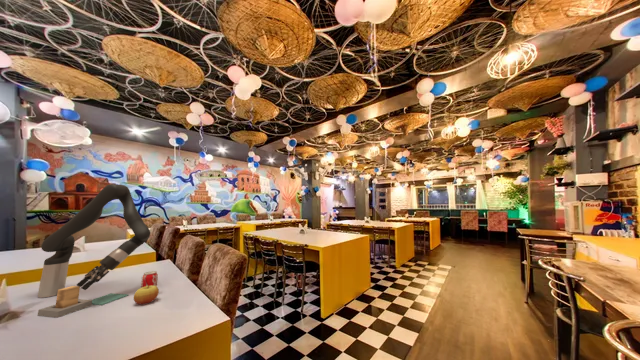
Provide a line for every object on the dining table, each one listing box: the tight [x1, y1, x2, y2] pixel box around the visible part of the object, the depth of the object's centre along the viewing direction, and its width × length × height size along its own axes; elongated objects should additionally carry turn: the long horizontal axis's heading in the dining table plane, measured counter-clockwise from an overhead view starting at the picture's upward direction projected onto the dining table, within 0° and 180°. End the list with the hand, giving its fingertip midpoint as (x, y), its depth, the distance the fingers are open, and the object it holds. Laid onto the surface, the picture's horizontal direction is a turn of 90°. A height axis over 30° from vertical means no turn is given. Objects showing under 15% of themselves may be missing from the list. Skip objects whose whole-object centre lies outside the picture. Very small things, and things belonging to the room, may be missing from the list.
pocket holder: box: [37, 298, 93, 318], centre depth 99 cm, size 12×12×2 cm
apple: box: [133, 285, 160, 305], centre depth 106 cm, size 10×10×8 cm
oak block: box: [55, 285, 81, 309], centre depth 99 cm, size 5×5×10 cm
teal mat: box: [91, 292, 129, 306], centre depth 110 cm, size 12×12×1 cm
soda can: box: [140, 270, 159, 288], centre depth 116 cm, size 7×7×12 cm
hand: (80, 287), depth 103 cm, fingers open, 8 cm apart
